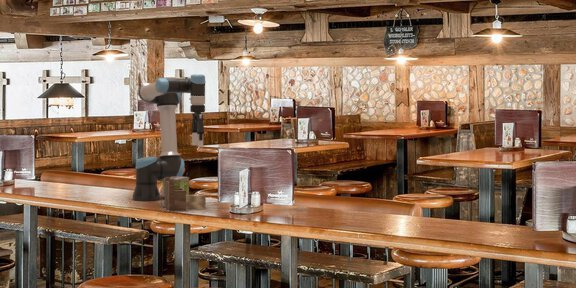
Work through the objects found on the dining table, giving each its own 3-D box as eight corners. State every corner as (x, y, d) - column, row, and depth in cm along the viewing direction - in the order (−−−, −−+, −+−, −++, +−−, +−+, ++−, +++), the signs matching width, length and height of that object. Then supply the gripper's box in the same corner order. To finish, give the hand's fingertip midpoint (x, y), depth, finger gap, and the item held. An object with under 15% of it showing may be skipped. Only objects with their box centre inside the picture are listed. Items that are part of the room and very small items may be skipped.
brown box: (164, 207, 455) (164, 176, 454) (180, 207, 458) (181, 176, 457) (169, 211, 442) (169, 179, 441) (186, 210, 445) (186, 179, 444)
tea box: (180, 207, 458) (180, 178, 457) (161, 206, 460) (161, 178, 459) (189, 204, 473) (189, 176, 472) (171, 203, 475) (171, 175, 474)
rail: (174, 210, 447) (174, 196, 447) (172, 208, 452) (172, 195, 452) (205, 209, 452) (205, 195, 452) (203, 207, 457) (203, 194, 457)
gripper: (185, 104, 465) (185, 144, 466) (195, 105, 442) (195, 147, 443) (199, 104, 468) (199, 144, 469) (210, 105, 444) (210, 147, 445)
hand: (197, 146), depth 456 cm, fingers open, 13 cm apart
